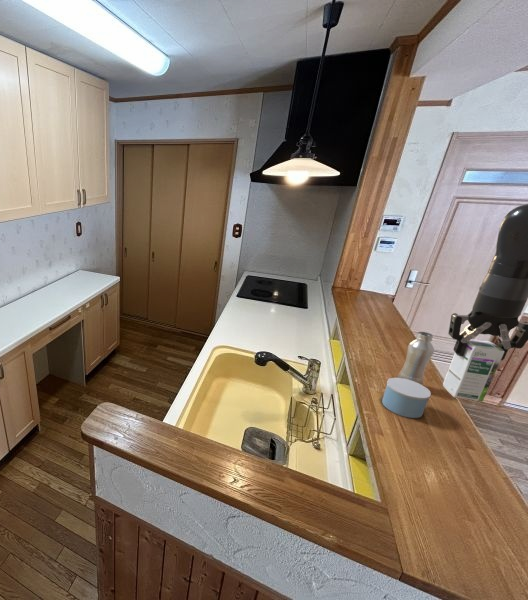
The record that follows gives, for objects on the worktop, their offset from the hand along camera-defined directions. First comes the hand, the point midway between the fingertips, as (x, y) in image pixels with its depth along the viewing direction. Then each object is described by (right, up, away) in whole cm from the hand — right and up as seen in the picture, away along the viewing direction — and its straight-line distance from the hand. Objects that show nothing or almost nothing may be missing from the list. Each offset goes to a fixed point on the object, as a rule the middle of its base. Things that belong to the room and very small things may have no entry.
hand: (476, 357), depth 79 cm
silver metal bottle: (+12, -16, +33) cm, 38 cm away
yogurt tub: (0, -20, +22) cm, 30 cm away
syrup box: (0, -10, +4) cm, 11 cm away
